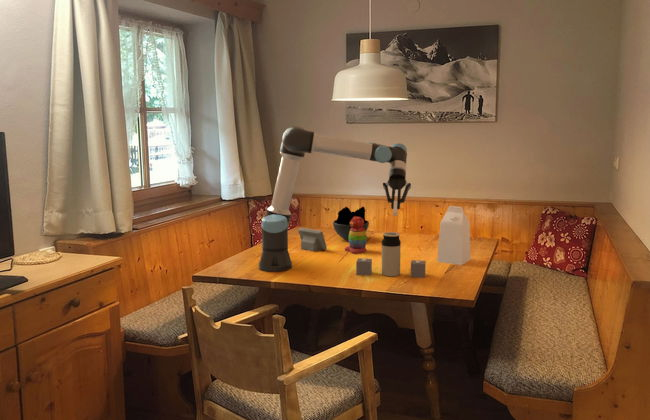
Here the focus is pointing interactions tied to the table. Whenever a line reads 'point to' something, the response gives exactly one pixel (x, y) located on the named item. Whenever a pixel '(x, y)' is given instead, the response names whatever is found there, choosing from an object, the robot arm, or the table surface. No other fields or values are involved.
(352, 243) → the stacking bear
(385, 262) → the travel mug
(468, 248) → the milk
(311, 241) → the digital clock
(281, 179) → the robot arm
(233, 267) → the table surface
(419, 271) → the dotted block right
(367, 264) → the dotted block left
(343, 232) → the bowl of black rocks
